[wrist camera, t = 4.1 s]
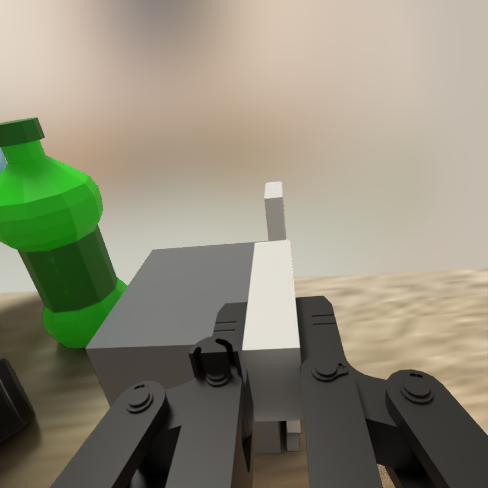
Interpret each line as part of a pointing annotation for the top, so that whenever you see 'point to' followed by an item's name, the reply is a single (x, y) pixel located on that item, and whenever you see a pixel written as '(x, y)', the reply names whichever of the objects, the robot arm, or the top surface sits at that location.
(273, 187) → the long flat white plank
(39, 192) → the plastic bottle
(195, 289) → the housing
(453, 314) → the top surface
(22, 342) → the top surface
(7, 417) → the camera
